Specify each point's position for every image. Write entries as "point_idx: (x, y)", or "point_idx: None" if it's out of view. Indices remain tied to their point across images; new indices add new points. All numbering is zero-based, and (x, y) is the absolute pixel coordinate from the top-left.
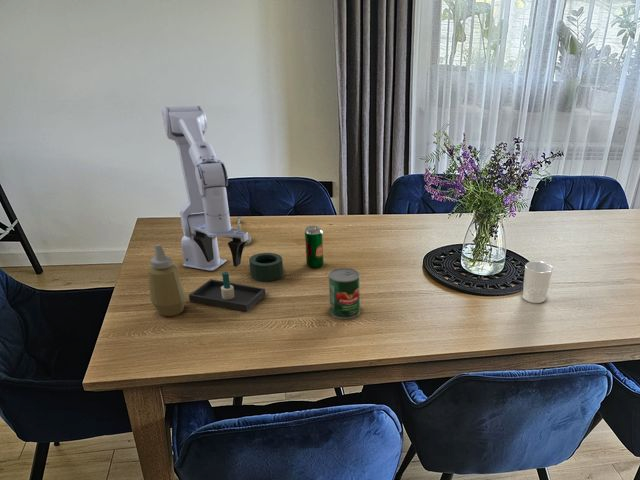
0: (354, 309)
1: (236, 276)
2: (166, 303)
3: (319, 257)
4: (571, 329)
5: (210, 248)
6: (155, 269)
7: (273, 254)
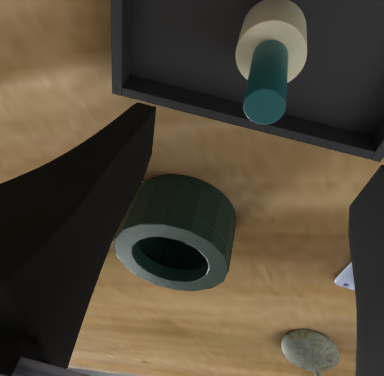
0: None
1: (283, 204)
2: None
3: None
4: None
5: (372, 283)
6: None
7: (159, 281)
